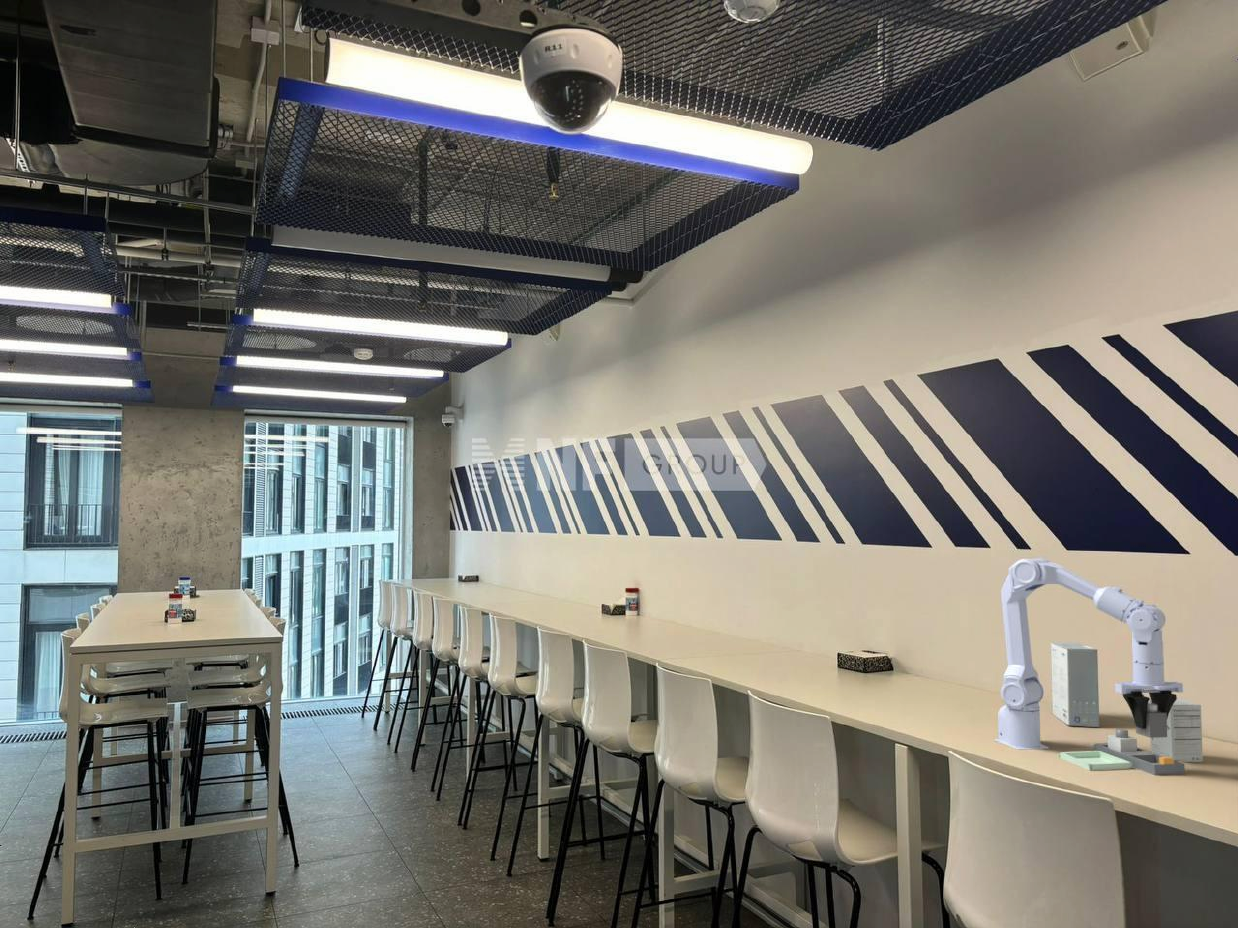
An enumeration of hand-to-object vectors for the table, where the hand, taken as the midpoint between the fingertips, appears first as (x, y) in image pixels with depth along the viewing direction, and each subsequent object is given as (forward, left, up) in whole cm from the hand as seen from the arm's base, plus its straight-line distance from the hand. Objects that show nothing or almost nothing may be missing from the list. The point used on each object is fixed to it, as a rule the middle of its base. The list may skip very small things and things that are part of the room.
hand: (1150, 727), depth 187 cm
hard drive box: (-46, +16, -9) cm, 49 cm away
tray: (-5, -9, -9) cm, 14 cm away
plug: (0, 0, -2) cm, 2 cm away
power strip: (-4, 0, -9) cm, 10 cm away
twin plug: (-9, 0, -9) cm, 13 cm away
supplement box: (-8, +13, -9) cm, 18 cm away
